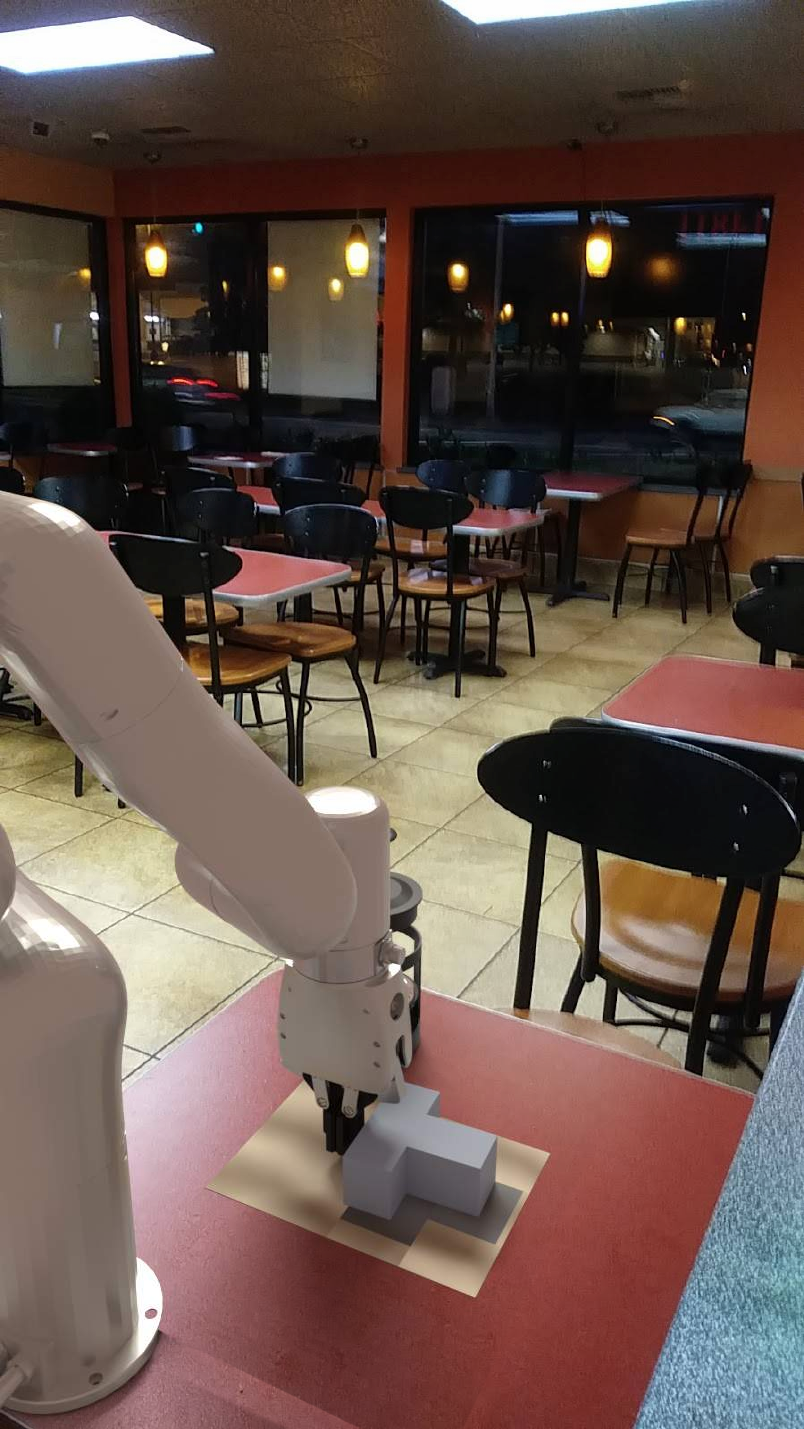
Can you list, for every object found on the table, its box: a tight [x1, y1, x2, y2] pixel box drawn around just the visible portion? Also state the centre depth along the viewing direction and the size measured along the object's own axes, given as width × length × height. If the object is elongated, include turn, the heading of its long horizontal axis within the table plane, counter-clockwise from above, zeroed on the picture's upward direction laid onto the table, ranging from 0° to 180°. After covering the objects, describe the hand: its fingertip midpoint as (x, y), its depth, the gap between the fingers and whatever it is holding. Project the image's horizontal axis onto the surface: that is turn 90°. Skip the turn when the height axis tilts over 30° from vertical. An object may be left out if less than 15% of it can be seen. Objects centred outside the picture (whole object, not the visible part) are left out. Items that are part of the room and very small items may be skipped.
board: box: [204, 1079, 551, 1299], centre depth 86 cm, size 16×23×1 cm
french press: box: [390, 827, 423, 1055], centre depth 99 cm, size 12×9×23 cm
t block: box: [343, 1081, 498, 1220], centre depth 84 cm, size 10×10×4 cm
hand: (344, 1143), depth 88 cm, fingers closed
